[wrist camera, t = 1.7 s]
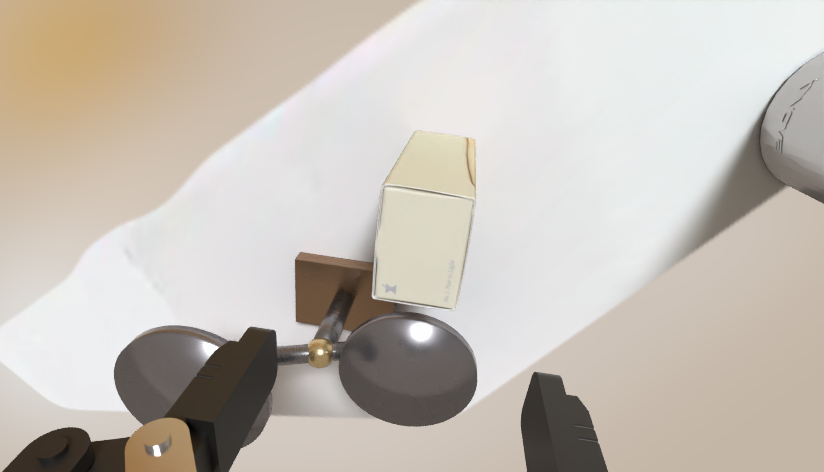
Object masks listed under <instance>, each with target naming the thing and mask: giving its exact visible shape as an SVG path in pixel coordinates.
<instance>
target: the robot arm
mask: <svg viewBox="0 0 824 472" xmlns="http://www.w3.org/2000/svg"><path fill="white" fill-rule="evenodd" d="M760 146H761V153H762V157H763V159H764V161H765V164H766V166H767V168H768V169H769V170H770V171H771V172H772V174H773V175H774V176H775V177H776V178H777V179H779V180H780V181H782V182H783V183H785V184H786V185H788V186H790V187H792V188H794V189H796V190H798V191H800V192H802V193H804V194H806V195H808V196H810V197H812V198H814V199H816V200H818V201H820V202H822V203H824V52H823V53H821V54H820V55H818V56H816V57H815V58H813V59H812V60H810V61H809V62H807V63H806V64H804V65H803V66H802V67H801V68H800V69H799V70H798V71H797V72H795V73H794V74H793V75H792V76H791V77H790V78H789V79H788V80H787V81H786V83H785V84H784V85H783V86H782V87H781V89H780V90H779V91H778V92H777V94H776V95H775V97H774V99H773V101H772V102H771V104H770V106H769V107H768V109H767V112H766V115H765V118H764V120H763V123H762V127H761V136H760ZM276 375H277V342H276V332H275V330H270V329H263V328H257V327H249V328H248V329H247V331H246V332H245V333H244V335H243V336H242V338H241V339H240V340H239V342H236V341H228V342H227V343H225V344H224V345H222V346H221V347H219V348H218V349H216V350H215V351H214V352H213V353H212V355H211V356H210V357H209V359H208V360H207V361H206V363H205V365H204V366H203V367H202V368H201V369H200V370H199V372H198V373H197V376H196V377H194V378H193V380H192V381H191V382H190V384H189V385H188V386H187V388H186V389H185V390H184V391H183V393H182V394H181V395H180V397H179V398H178V399H177V401H176V402H175V403H174V405H173V406H172V407H171V408H170V410H169V411H168V412H167V414H166V415H165V416H164V417H163V418H162V419H157V420H154V421H151V422H149V423H147V424H145V425H144V426H142V427H140V428H139V429H138V430H137V431H135V432H134V434H132V436H131V437H126V438H120V439H112V440H104V441H95V442H91V441H90V437H89V435H88V433H87V432H86V431H84V430H82V429H80V428H73V427H69V428H62V429H57V430H55V431H51V432H49V433H46V434H44V435H42V436H40V437H39V438H37V439H36V440H34V441H33V442H31V443H30V444H29V445H28V446H27V447H26V448H25V449H24V450H23V451H22V452H21V453H20V454H19V455H18V456H17V457H16V458H15V459H14V460H13V461H12V462H11V463H10V464H9V465H8V467H6V468H5V469H4V470H3V472H229V470H230V468H231V466H232V464H233V462H234V460H235V458H236V456H237V454H238V453H239V451H240V449H241V447H242V445H243V443H244V441H245V439H246V437H247V435H248V434H249V432H250V430H251V428H252V426H253V424H254V422H255V420H256V418H257V416H258V415H259V413H260V411H261V409H262V407H263V405H264V403H265V401H266V399H267V397H268V395H269V394H270V392H271V390H272V388H273V385H274V383H275V379H276ZM593 428H594V427H593V424H592V420H591V417H590V414H589V411H588V410H587V409H586V407H585V406H584V405H583V404H582V402H581V401H580V400H579V398H578V397H577V396H572V395H566V392H565V389H564V385H563V381H562V378H561V377H560V376H558V375H553V374H546V373H539V372H534V373H533V375H532V378H531V382H530V385H529V388H528V391H527V395H526V398H525V401H524V405H523V408H522V414H521V431H522V438H523V445H524V453H525V460H526V466H527V472H608V470H607V467H606V464H605V461H604V458H603V455H602V452H601V448H600V445H599V444H598V439H597V436H596V433H595V431H594V429H593Z"/></svg>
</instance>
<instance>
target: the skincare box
mask: <svg viewBox="0 0 824 472" xmlns="http://www.w3.org/2000/svg"><path fill="white" fill-rule="evenodd" d="M475 167H476V160H475V139H472V138H466V137H460V136H455V135H448V134H441V133H434V132H427V131H420V130H417V131H415V132H414V134H413V135H412V137H411V139H410V140H409V142H408V144H407V145H406V147H405V148H404V150H403V152H402V153H401V155H400V157H399V158H398V160H397V162H396V163H395V165H394V167H393V168H392V170H391V172H390V173H389V175H388V176H387V178H386V180H385V181H384V183H383V185H382V186H381V191H380V200H379V209H378V219H377V228H376V238H375V253H374V267H373V284H372V298H373V299H378V300H384V301H389V302H396V303H401V304H407V305H413V306H420V307H425V308H433V309H440V310H447V311H454V310H455V309H456V306H457V302H458V298H459V294H460V289H461V284H462V280H463V275H464V270H465V264H466V259H467V254H468V248H469V242H470V236H471V230H472V224H473V217H474V210H475V204H476V168H475Z"/></svg>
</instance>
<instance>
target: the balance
mask: <svg viewBox="0 0 824 472" xmlns="http://www.w3.org/2000/svg"><path fill="white" fill-rule="evenodd" d="M373 267H374V263H369V262H363V261H356V260H349V259H343V258H336V257H329V256H323V255H316V254H309V253H303V252H300V253H299V255H298V256H297V257H296V259H295V288H296V321H297V322H303V323H309V324H316V325H320V327H319V329H318V331H317V333H316V335H315V337H314V339H313V340H312V341H310V343H309V344H306V345H292V346H278V347H277V365H289V364H301V363H309V364H310V365H311V366H313V367H315V368H324V367H326V366H328V365H329V364H331V362H332V361H336V360H339V374H340V379H341V382H342V385H343V387H344V389H345V390H346V392H347V394H348V395H349V396H350V398H351V399H352V400H353V401H354V402H355V403H356V404H357V405H358V406H359V407H360V408H362V409H363V410H364V411H366V412H367V413H369V414H371V415H372V416H374V417H376V418H378V419H381V420H383V421H386V422H390V423H393V424H397V425H403V426H428V425H434V424H437V423H441V422H444V421H446V420H449V419H450V418H452V417H454V416H456V415H457V414H458V413H460V412H461V411H462V410H463V409H464V408H465V407H466V406H467V405H468V404H469V402H470V401H471V399H472V397H473V396H474V393H475V390H476V386H477V364H476V359H475V356H474V354H473V351H472V349H471V347H470V346H469V344H468V343H467V341H466V340H465V339H464V338H463V337H462V336H461V335H460V334H459V333H458V332H457V331H456V330H455V329H453V328H452V327H451V326H449V325H448V324H446V323H444V322H442V321H440V320H438V319H436V318H433V317H430V316H427V315H424V314H419V313H412V312H394V307H395V302H389V301H384V300H378V299H373V298H372V284H373ZM343 329H347V330H353V332H352V333H351V334H350V336H349V337H348V339H347V341H346V342H338V340H339V337H340V335H341V332H342V330H343ZM227 342H228V341H227V340H225V339H224V338H222V337H220V336H218V335H215V334H213V333H210V332H208V331H204V330H201V329H198V328H193V327H187V326H162V327H157V328H153V329H150V330H148V331H145V332H143V333H142V334H140V335H139V336H137V337H136V338H135V339H134V340H133V341H132V342H131V343H130V344H129V345H128V346H127V347H126V348H125V349H124V350H123V351H122V352H121V353H120V355H119V356H118V358H117V361H116V363H115V368H114V380H115V385H116V388H117V391H118V394H119V396H120V398H121V400H122V401H123V403H124V404H125V406H126V408H127V409H128V410H129V411H130V412H131V414H132V415H133V416H134V417H135V418H136V419H137V420H138V421H139V422H140V423H142V424H143V425H145V424H147V423H149V422H151V421H154V420H157V419H162V418H163V417H164V416H165V415H166V414H167V412H168V411H169V410H170V408H171V407H172V406H173V405H174V403H175V402H176V401H177V399H178V398H179V397H180V395H181V394H182V393H183V391H184V390H185V389H186V388H187V386H188V385H189V384H190V382H191V381H192V380H193V378H194V377H196V376H197V373H198V372H199V370H200V369H201V368H202V367H203V366H204V365H205V363H206V361H207V360H208V359H209V357H210V356H211V355H212V353H213V352H214V351H215V350H216V349H218V348H219V347H221V346H222V345H224V344H225V343H227ZM271 410H272V394H271V392H270V394H269V395H268V397H267V399H266V401H265V403H264V405H263V407H262V409H261V411H260V413H259V415H258V416H257V418H256V420H255V422H254V424H253V426H252V428H251V430H250V432H249V434H248V435H247V437H246V439H245V441H244V443H243V445H242V447H241V448H243V447H245V446H247V445H249V444H250V443H252V442H253V441H254V440H255V439H256V438H257V437H258V436H259V435H260V434H261V432H262V431H263V428H264V427H265V425H266V422H267V421H268V418H269V416H270V414H271Z"/></svg>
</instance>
